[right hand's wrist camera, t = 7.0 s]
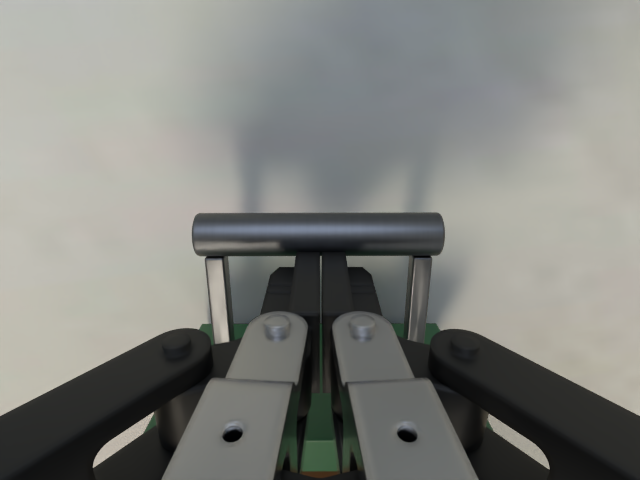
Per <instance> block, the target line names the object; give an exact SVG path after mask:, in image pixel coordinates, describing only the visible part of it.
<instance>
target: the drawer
mask: <svg viewBox="0 0 640 480" xmlns="http://www.w3.org/2000/svg"><path fill="white" fill-rule="evenodd" d="M444 240H445V228H444V222H443V218H442V216H441V215H440V214H439V213H199V214H197V215H196V216H195V218H194V221H193V226H192V243H193V247H194V251H195V253H196V254H197V255H198V256H207V257H206V258H205V266H206V275H207V285H208V294H209V304H210V313H211V323H212V324H202V325H201V327H200V329H199V330H201V331H203V332H205V333H206V334H208V336H209V337H210V339H211V345H215V344H220V343H224V342H229V341H233V340H236V339H239V338H241V337H243V335H244V333H245V331H246V328H247V326H248V324H233V312H232V301H231V289H230V277H229V265H228V256H296V253H297V252H320V256H322V252H345V254H346V256H409V267H408V280H407V293H406V306H405V319H404V324H391V325H392V326H393V329H394V331H395V333H396V335H398V336H400V337H402V338H404V339H407V340H410V341H414V342H419V343H424V344H429V345H430V342H431V339H432V337H433V336H434V335H435V334H436V333H438V332H440V330H439V328H438V326H437V324H435V323H432V324H426V317H427V307H428V297H429V286H430V276H431V266H432V257H431V256H437V255H439V254H441V252H442V250H443V246H444ZM155 425H157V424H156V420H155V415H153V417H152V418H151V420H150V422H149V424H148V426H147V428H146V430H145V432H147V431H148V430H150V429H151V428H152V427H154V426H155ZM486 427H488V428H489V429H490V430H492V431H493V429H492V427H491V426H490V424H489V422H488V420H487V424H486ZM145 432H144V433H145ZM493 432H494V431H493ZM144 433H143V434H144ZM302 475H306V476H310V477H315V478H325V477H330V476H334V475H338V472H337V464H336V457H335V449H334V441H333V433H332V425H331V393H323V388H322V324H320V393H312V401H311V407H310V410H309V424H308V432H307V440H306V448H305V455H304V463H303V471H302Z"/></svg>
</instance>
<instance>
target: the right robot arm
mask: <svg viewBox="0 0 640 480" xmlns="http://www.w3.org/2000/svg"><path fill="white" fill-rule="evenodd" d="M322 388H323V393H331V425H332V433H333V441H334V449H335V457H336V464H337V472H338V475H334V476H330V477H325V478H315V477H310V476H306V475H302V471H303V463H304V455H305V448H306V440H307V432H308V424H309V410H310V407H311V401H312V393H320V252H297V253H296V260H295V267H279V268H278V269H277V270H276V271H275V272H273V273H272V274H271V275H270V279H269V283H268V287H267V291H266V295H265V299H264V302H263V306H262V310H261V314H260V316H258V317H256V318H254V319H253V320H252V321H251V322H250V323H249V324H248V326H247V328H246V331H245V333H244V335H243V337H241V338H239V339H236V340H233V341H229V342H224V343H220V344H215V345H211V339H210V337H209V336H208V334H206V333H205V332H203V331H201V330H198V329H192V328H183V329H176V330H172V331H168V332H165V333H163V334H161V335H158V336H157V337H155V338H153V339H151V340H149V341H147V342H145V343H143V344H141V345H139V346H137V347H135V348H133V349H131V350H129V351H127V352H125V353H123V354H121V355H119V356H117V357H115V358H113V359H111V360H110V361H108V362H106V363H104V364H102V365H100V366H98V367H96V368H94V369H92V370H90V371H88V372H86V373H84V374H82V375H80V376H78V377H76V378H74V379H72V380H70V381H68V382H66V383H64V384H62V385H61V386H59V387H57V388H55V389H53V390H51V391H49V392H47V393H45V394H43V395H41V396H39V397H37V398H35V399H33V400H31V401H29V402H27V403H25V404H23V405H21V406H19V407H17V408H15V409H14V410H12V411H10V412H8V413H6V414H4V415H2V416H0V480H640V416H638V415H636V414H634V413H632V412H630V411H628V410H626V409H625V408H623V407H621V406H619V405H617V404H615V403H613V402H611V401H609V400H607V399H605V398H603V397H601V396H599V395H597V394H595V393H593V392H591V391H589V390H587V389H585V388H583V387H581V386H579V385H578V384H576V383H574V382H572V381H570V380H568V379H566V378H564V377H562V376H560V375H558V374H556V373H554V372H552V371H550V370H548V369H546V368H544V367H542V366H540V365H538V364H536V363H534V362H532V361H531V360H529V359H527V358H525V357H523V356H521V355H519V354H517V353H515V352H513V351H511V350H509V349H507V348H505V347H503V346H501V345H499V344H497V343H495V342H493V341H491V340H489V339H487V338H485V337H483V336H481V335H479V334H477V333H474V332H471V331H467V330H461V329H448V330H443V331H440V332H438V333H436V334H435V335H434V336H433V337H432V339H431V342H430V345H429V344H424V343H419V342H414V341H410V340H407V339H404V338H402V337H400V336H398V335H396V333H395V331H394V329H393V326H392V325H391V323H390V322H389V321H388V320H387V319H386V318H384V317H383V316H382V313H381V309H380V305H379V302H378V298H377V294H376V290H375V287H374V283H373V279H372V276H371V274H370V273H369V272H367V271H366V270H365V269H364V268H363V267H347V261H346V254H345V252H322ZM152 412H154V415H155V420H156V424H157V425H155V426H154V427H152V428H151V429H150V430H148V431H147V432H145V433H144V434H142V435H141V436H139V437H138V438H136V439H135V440H134V441H132V442H131V443H129V444H128V445H126V446H125V447H123V448H122V449H120V450H119V451H118V452H116V453H115V454H113V455H112V456H110V457H109V458H107V459H106V460H105V461H103V462H102V463H100V464H99V465H97V466H96V467H94V468H93V462H94V459H95V457H96V455H97V453H98V452H99V450H100V449H101V448H102V447H103V446H104V445H105V444H106V443H107V442H109V441H110V440H111V439H113V438H114V437H116V436H117V435H119V434H120V433H122V432H123V431H125V430H126V429H128V428H130V427H131V426H133V425H134V424H136V423H137V422H139V421H140V420H142V419H143V418H145V417H146V416H148V415H149V414H151V413H152ZM488 414H491V415H492V416H494V417H495V418H497V419H498V420H500V421H501V422H503V423H504V424H506V425H507V426H509V427H510V428H512V429H514V430H515V431H517V432H518V433H520V434H521V435H523V436H524V437H526V438H527V439H529V440H530V441H532V442H533V443H534V444H536V445H537V446H538V447H539V448H540V449H541V450H542V452H543V453H544V454H545V456H546V458H547V460H548V462H549V466H550V470H549V469H547V468H546V467H544V466H543V465H541V464H540V463H538V462H537V461H535V460H534V459H533V458H531V457H530V456H528V455H527V454H525V453H524V452H522V451H521V450H520V449H518V448H517V447H515V446H514V445H512V444H511V443H509V442H508V441H506V440H505V439H504V438H502V437H501V436H499V435H498V434H496V433H495V432H493V431H492V430H490V429H489V428H488V427H486V424H487V419H488Z"/></svg>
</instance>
